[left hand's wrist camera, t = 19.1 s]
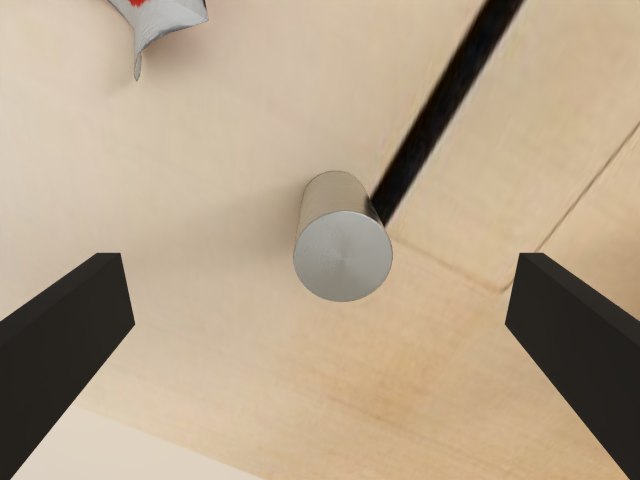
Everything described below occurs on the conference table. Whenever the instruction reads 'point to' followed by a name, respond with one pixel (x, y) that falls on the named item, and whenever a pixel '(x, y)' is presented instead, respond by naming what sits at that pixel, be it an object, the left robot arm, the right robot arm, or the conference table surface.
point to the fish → (158, 20)
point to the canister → (340, 240)
